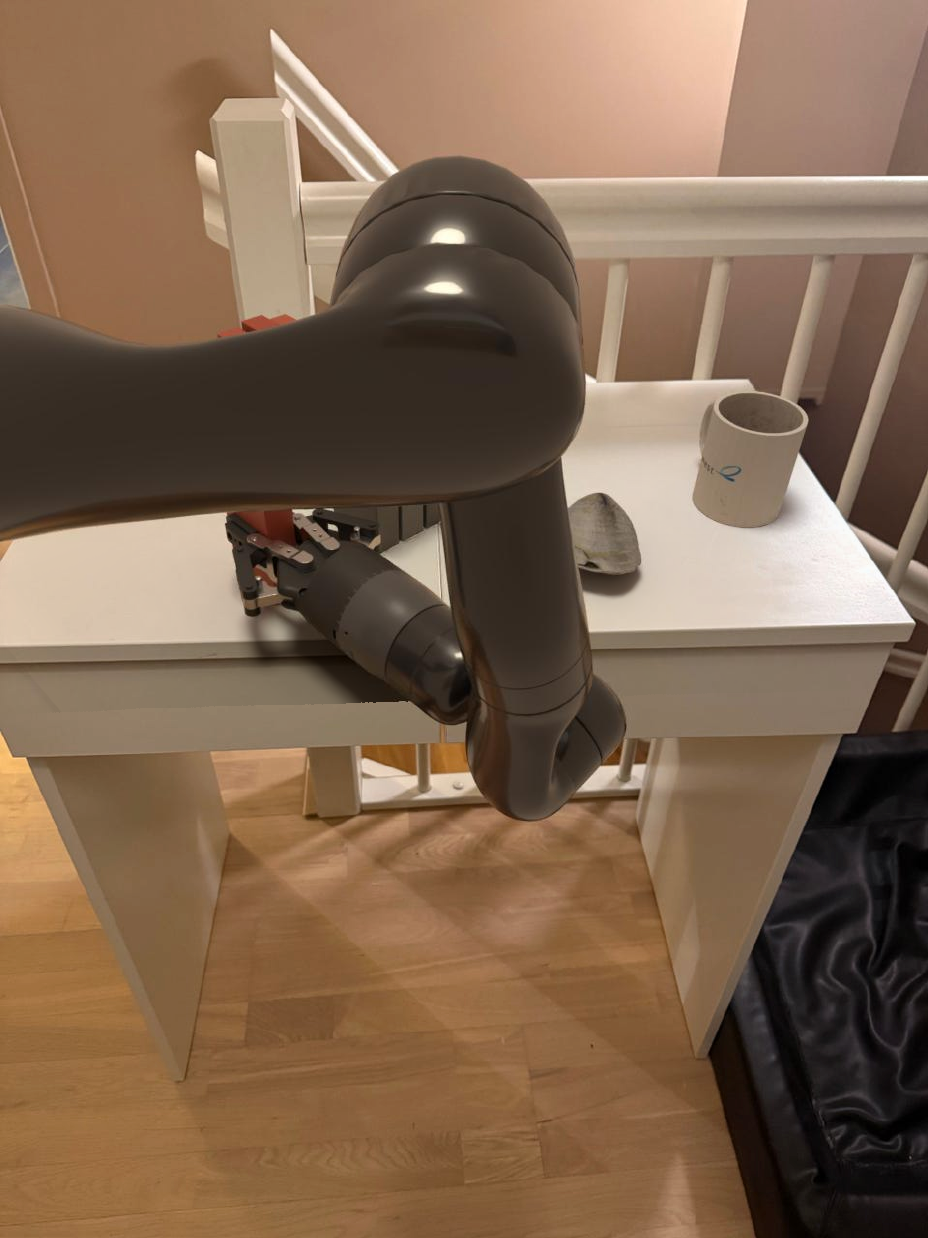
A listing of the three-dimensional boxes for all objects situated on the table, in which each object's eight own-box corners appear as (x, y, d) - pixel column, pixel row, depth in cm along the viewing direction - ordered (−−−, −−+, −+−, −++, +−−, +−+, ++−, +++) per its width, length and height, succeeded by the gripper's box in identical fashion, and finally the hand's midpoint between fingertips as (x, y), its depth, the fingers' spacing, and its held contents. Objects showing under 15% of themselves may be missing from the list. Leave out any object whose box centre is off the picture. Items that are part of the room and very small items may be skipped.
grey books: (378, 554, 82) (373, 433, 74) (334, 523, 85) (325, 404, 77) (446, 517, 86) (449, 400, 78) (402, 490, 90) (400, 375, 82)
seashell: (541, 515, 87) (546, 471, 84) (626, 518, 87) (634, 474, 84) (548, 594, 78) (554, 548, 75) (643, 597, 78) (653, 551, 75)
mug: (793, 525, 87) (823, 434, 81) (708, 529, 86) (731, 437, 80) (749, 459, 97) (773, 372, 90) (671, 461, 96) (690, 374, 89)
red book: (276, 605, 76) (263, 507, 69) (236, 572, 79) (219, 475, 73) (301, 592, 77) (290, 494, 71) (261, 560, 81) (247, 464, 74)
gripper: (450, 537, 68) (310, 448, 77) (299, 620, 60) (163, 510, 69) (448, 613, 73) (316, 520, 82) (308, 698, 65) (180, 586, 74)
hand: (247, 516), depth 75 cm, fingers closed on red book, 2 cm apart
